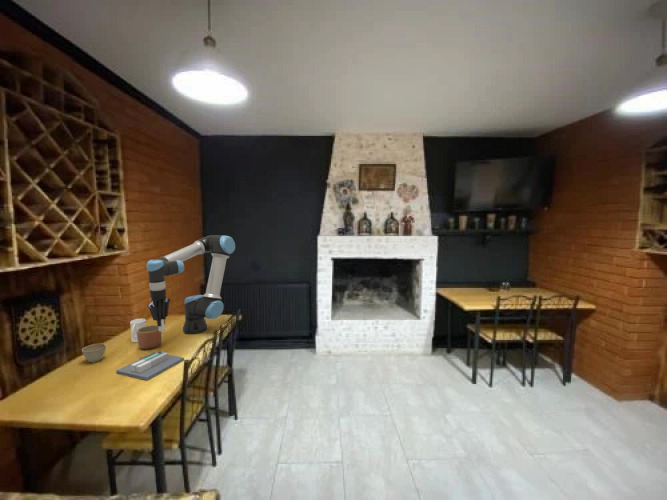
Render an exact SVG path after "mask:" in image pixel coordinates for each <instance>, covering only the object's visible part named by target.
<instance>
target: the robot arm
mask: <svg viewBox="0 0 667 500" xmlns="http://www.w3.org/2000/svg"><path fill="white" fill-rule="evenodd" d="M235 250H236V243H235V240H234V239H233V237H231V236H229V235H224V234H223V235H216V234H215V235H213V234H211V235H207V236H204V237H202V238H200V239H198V240H194V242H193V243H192V244H190V245H188V246H185V247H183V248H180V249H177V250H175V251H173V252H171V253H169V254H166V255H164V256H162V257H159V258H158V259H157V258H156V259H155V258H154V259H149V260H148V261H147V263H146V265H145V266H146V269H147V274H148V285H149V295H150V296H149V297H150V298H151V301H150V303H149V304H147V308H148V309H149V312H150V315H151V317H152V320H153V321H156V325H157V326H158V328H159V331H161V332H162V333H163V332H165V331H166V329H165V328H166V327H165V325H166V319H167V317H168V315H169V308H170V307H169V306H170V302H171V298H168V297H167V296H166V295H167V289H166V287H167V285H166V277H169V276H170V277H171V276H173V275H178V274H181V273H183V272H184V271H185V264H184V262H185V261H187V260H189V259H191V258H194V257H197V256H198V255H204V254H206V253H210V254H211V256H212V259H211V260H212V261H211V266H210V271H209V276H208V279H207V283H206V289H205V293H204V294H196V295H190V296H187V297H185V299H184V302H183V305H184V319H185V320H184V324H183V327H182V332H183V333H184V334H187V335H196V334H197V335H198V334H201V333H204V332H206V331H207V330H208V327H209V326H208V323H207V321H206V319H212V320H213V319H218V318H219V317H220V316H221V315H222V313H223V311H224V302H222V297H221V290H222V284H223V279H224V274H225V270H226V263H227V259H229V258H230V255H231V254H233V253H234V252H235Z"/></svg>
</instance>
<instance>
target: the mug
mask: <svg viewBox="0 0 667 500" xmlns="http://www.w3.org/2000/svg"><path fill="white" fill-rule="evenodd" d="M144 326H147V321H146V318H135V319H133V320H131V321H130V335H131V336H130V337H131V341H130V342H131V343H138V339H137V330H138V329H139V328H141V327H144Z"/></svg>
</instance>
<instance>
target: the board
mask: <svg viewBox="0 0 667 500" xmlns="http://www.w3.org/2000/svg"><path fill="white" fill-rule="evenodd" d="M153 352H154V351H153ZM161 352H163V353H162V354H160V355H158V356H156V357H154V358H152V359H150V360H148V361H146V362H144V363H142V364H140V365H138V366H136V370H137V371H135V372H134V371H131V365H132V364H134V363H136V362H138V361H140V360H139V359H138V360H136V361H133V362H132V363H129V364H126V365H125V366H123V367H121V368H118V369H116V370H115V371H116V374H117V375H121V376H125V377H130V378H134V379H139V380H143V381H146V382H148V381H150V380H151V379H153V378H155V377H157V376H158V375H161V374H163V373H164V372H165V371H168V370H169V369H171V368H172V367H173V368H174V367H175V366H177V365H178V364H180V363H182V362H184V361H185V357H182V356H178V355H172V354H169V352H165V351H162V350H157V351H155V352H154V353H161Z"/></svg>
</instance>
